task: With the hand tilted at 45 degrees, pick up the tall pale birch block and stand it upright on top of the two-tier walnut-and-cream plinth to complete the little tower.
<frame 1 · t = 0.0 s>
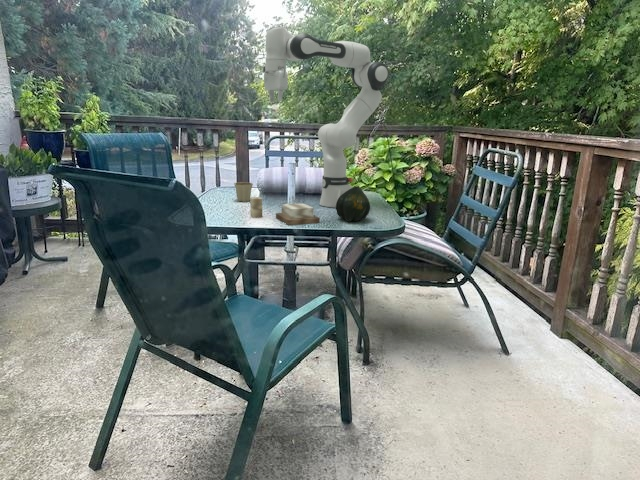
hand: (275, 101, 197), 48 cm above the table, tool pointing down, fingers open, 8 cm apart
flower pot: (243, 201, 226), on the table
birch block: (256, 216, 193), on the table
squash: (352, 220, 193), on the table
plinth: (297, 220, 188), on the table
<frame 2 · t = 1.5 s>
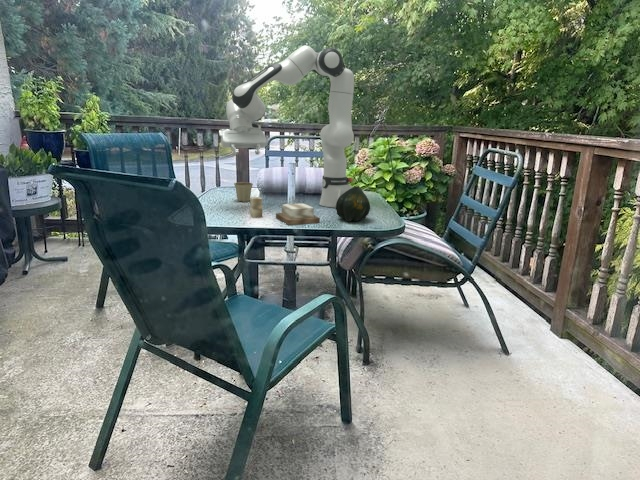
hand: (247, 153, 196), 25 cm above the table, tool tilted 45°, fingers open, 8 cm apart
nothing on the table moved.
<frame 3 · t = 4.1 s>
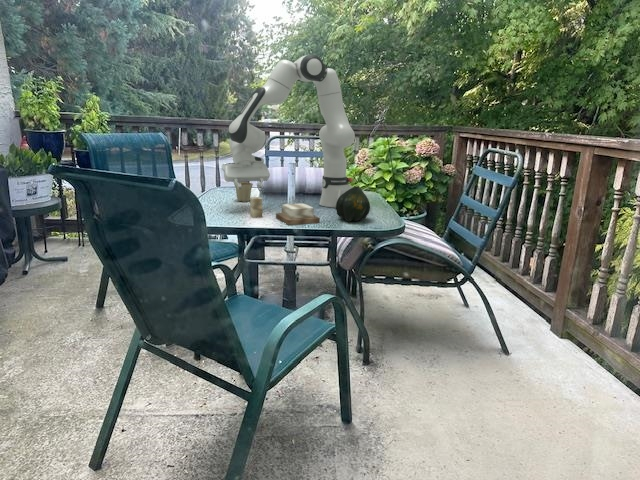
hand: (250, 187, 197), 11 cm above the table, tool tilted 45°, fingers open, 8 cm apart
nothing on the table moved.
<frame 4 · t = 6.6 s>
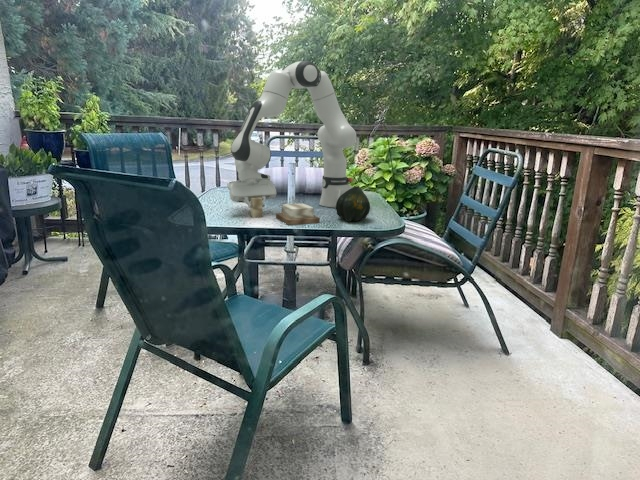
hand: (256, 206, 191), 4 cm above the table, tool tilted 45°, fingers closed on birch block, 4 cm apart
birch block: (256, 216, 193), on the table, touching gripper
everything else where it was.
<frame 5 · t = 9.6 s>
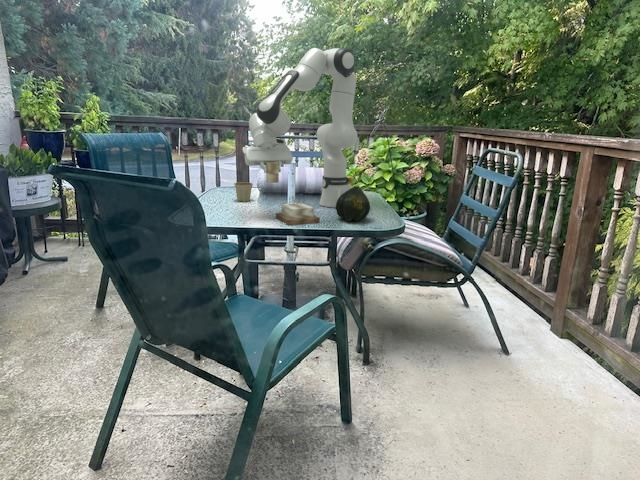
hand: (272, 171, 185), 20 cm above the table, tool tilted 45°, fingers closed on birch block, 4 cm apart
birch block: (272, 182, 187), point 15 cm above the table, touching gripper
everything else where it was.
when the fingers open (12 cm above the table, at t = 12.7 s): birch block drops 1 cm, resting on plinth.
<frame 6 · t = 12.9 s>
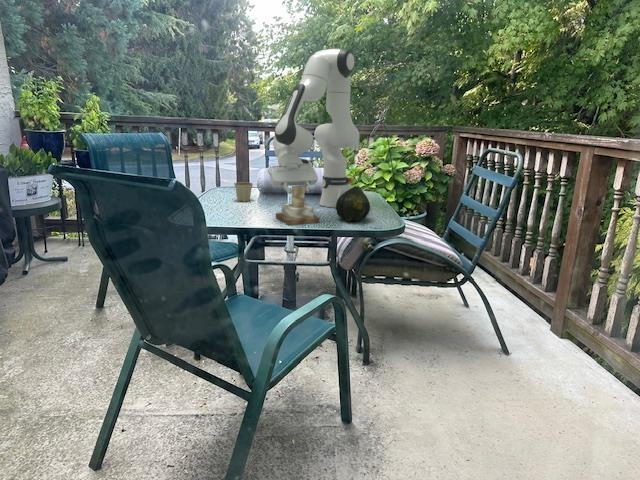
hand: (298, 192, 184), 12 cm above the table, tool tilted 45°, fingers open, 6 cm apart
birch block: (297, 206, 187), point 6 cm above the table, touching plinth
everything else where it was.
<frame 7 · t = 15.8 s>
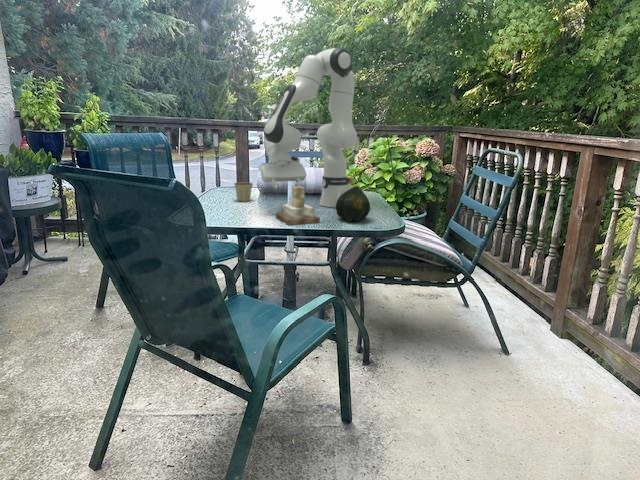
hand: (287, 188, 195), 12 cm above the table, tool tilted 45°, fingers open, 8 cm apart
nothing on the table moved.
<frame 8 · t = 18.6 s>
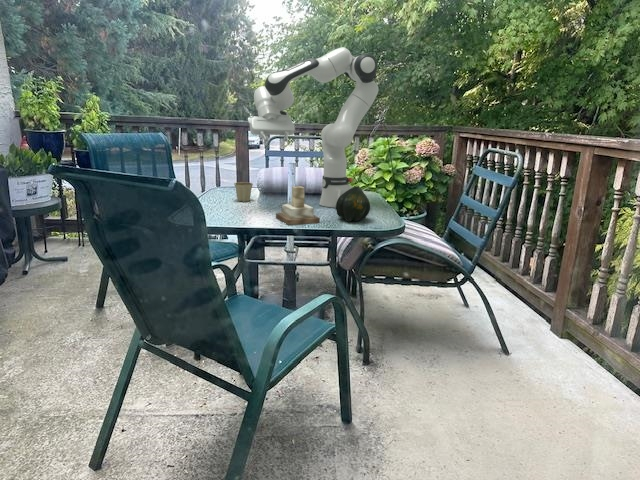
hand: (276, 140, 196), 31 cm above the table, tool tilted 45°, fingers open, 8 cm apart
nothing on the table moved.
at the end: birch block inside the target area on the plinth (0.1 cm from its centre), point 6.0 cm above the plinth's base; birch block tilted 0°; the gripper is holding nothing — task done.
